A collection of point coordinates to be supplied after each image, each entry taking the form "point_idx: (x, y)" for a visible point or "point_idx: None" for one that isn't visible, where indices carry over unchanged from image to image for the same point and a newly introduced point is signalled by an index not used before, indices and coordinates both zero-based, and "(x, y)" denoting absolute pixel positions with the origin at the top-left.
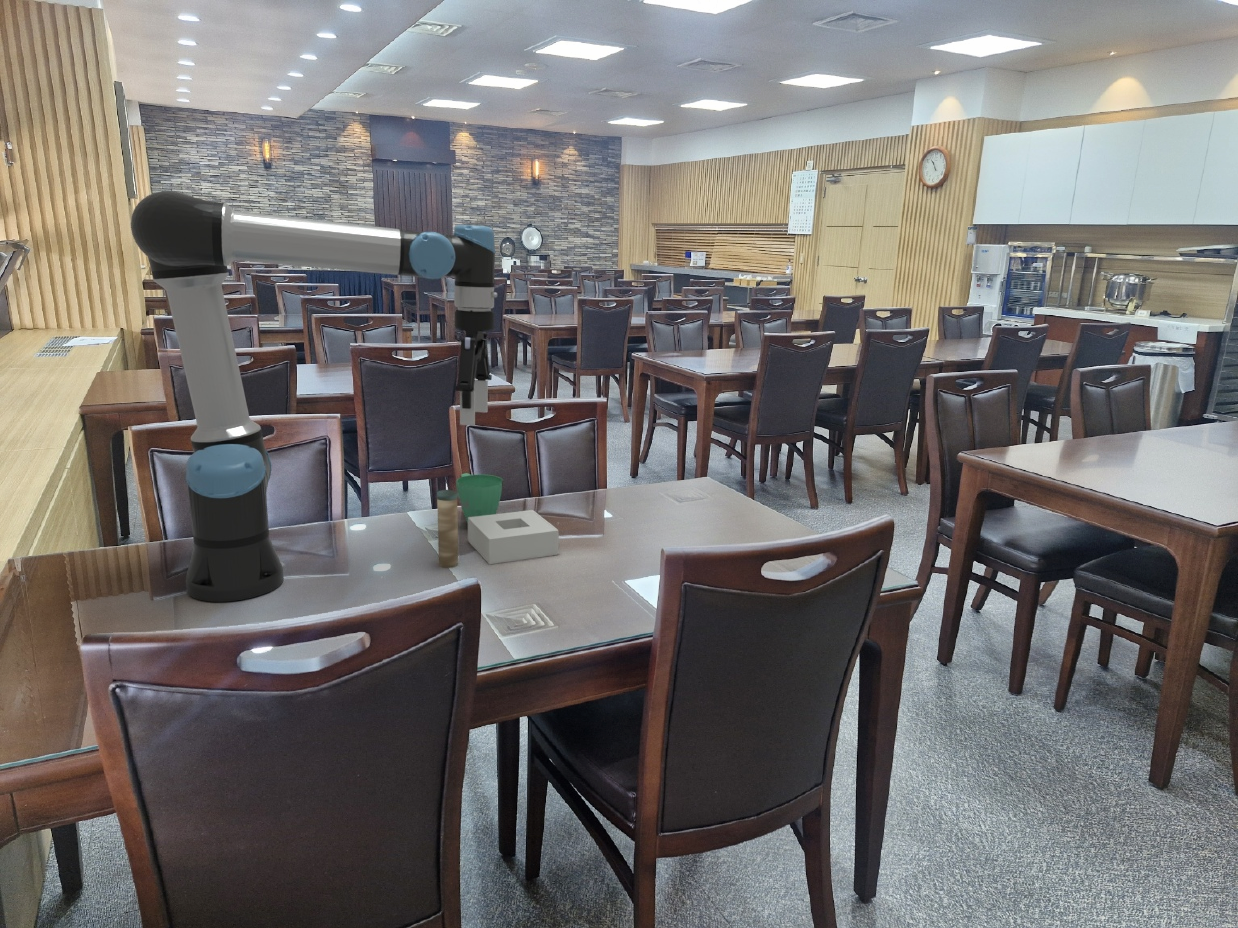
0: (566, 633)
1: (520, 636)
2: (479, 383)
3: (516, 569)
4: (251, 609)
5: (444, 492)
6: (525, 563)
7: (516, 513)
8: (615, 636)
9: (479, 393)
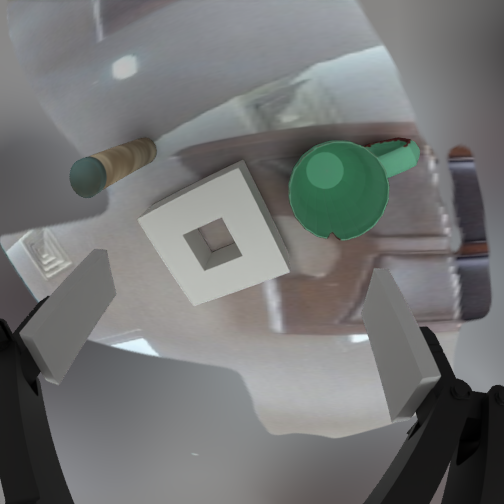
0: (41, 285)
1: (26, 254)
2: (403, 387)
3: (143, 240)
4: (28, 12)
5: (83, 173)
6: None
7: (268, 248)
8: None
9: (389, 346)
